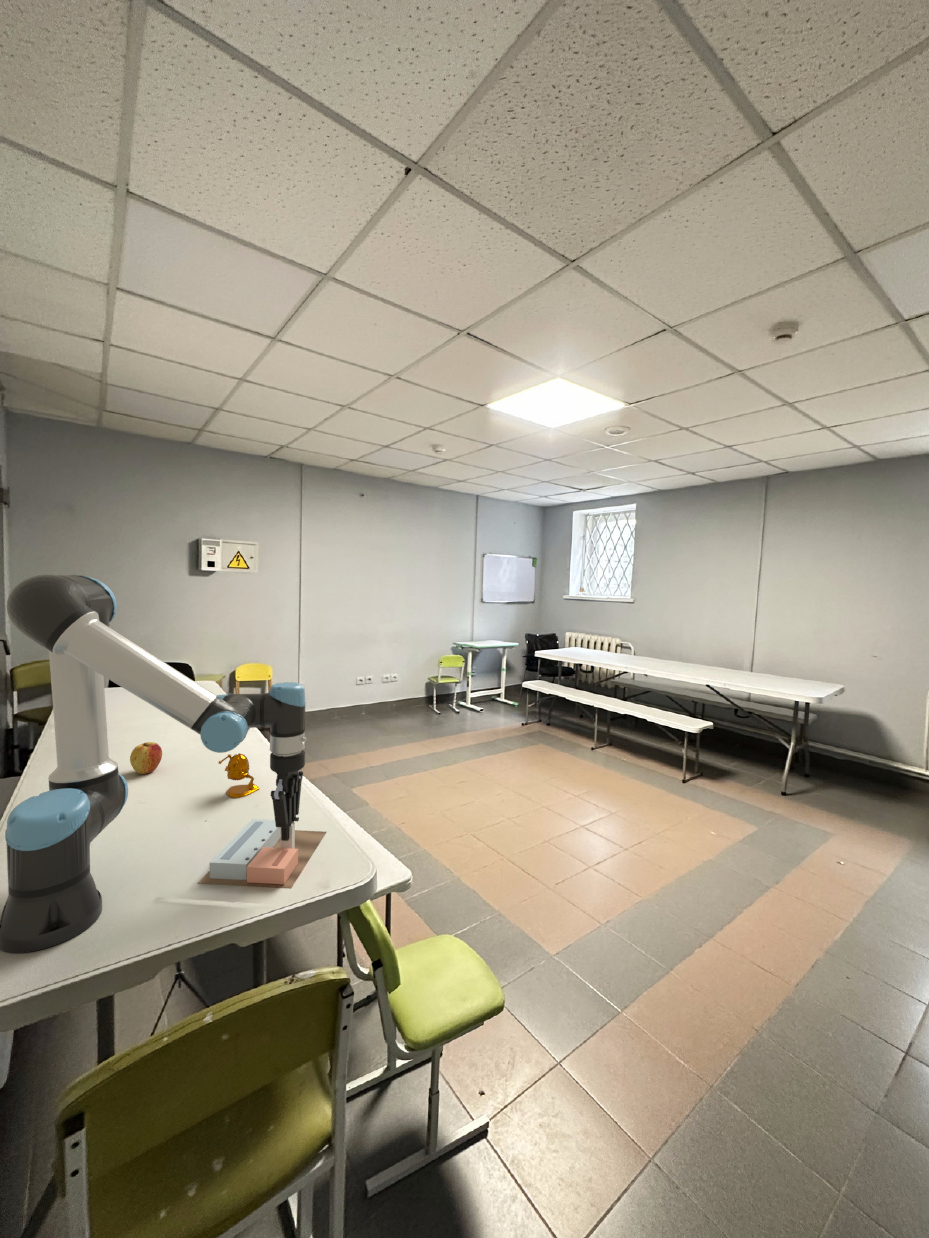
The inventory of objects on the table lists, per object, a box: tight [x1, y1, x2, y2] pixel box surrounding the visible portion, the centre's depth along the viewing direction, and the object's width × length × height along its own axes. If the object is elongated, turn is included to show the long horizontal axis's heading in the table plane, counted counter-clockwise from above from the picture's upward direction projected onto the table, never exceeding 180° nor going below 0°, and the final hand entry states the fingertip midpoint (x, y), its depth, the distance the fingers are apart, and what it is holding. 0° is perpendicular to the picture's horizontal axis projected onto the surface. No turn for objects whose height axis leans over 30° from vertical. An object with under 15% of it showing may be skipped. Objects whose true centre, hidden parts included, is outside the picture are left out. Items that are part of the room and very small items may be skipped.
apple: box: [129, 741, 163, 775], centre depth 165 cm, size 9×9×10 cm
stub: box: [247, 847, 298, 884], centre depth 109 cm, size 8×8×4 cm
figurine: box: [217, 753, 260, 799], centre depth 152 cm, size 8×11×12 cm
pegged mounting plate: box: [209, 818, 281, 880], centre depth 116 cm, size 20×8×4 cm, turn 178°
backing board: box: [197, 829, 328, 889], centre depth 116 cm, size 24×20×1 cm
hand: (287, 850), depth 115 cm, fingers closed
